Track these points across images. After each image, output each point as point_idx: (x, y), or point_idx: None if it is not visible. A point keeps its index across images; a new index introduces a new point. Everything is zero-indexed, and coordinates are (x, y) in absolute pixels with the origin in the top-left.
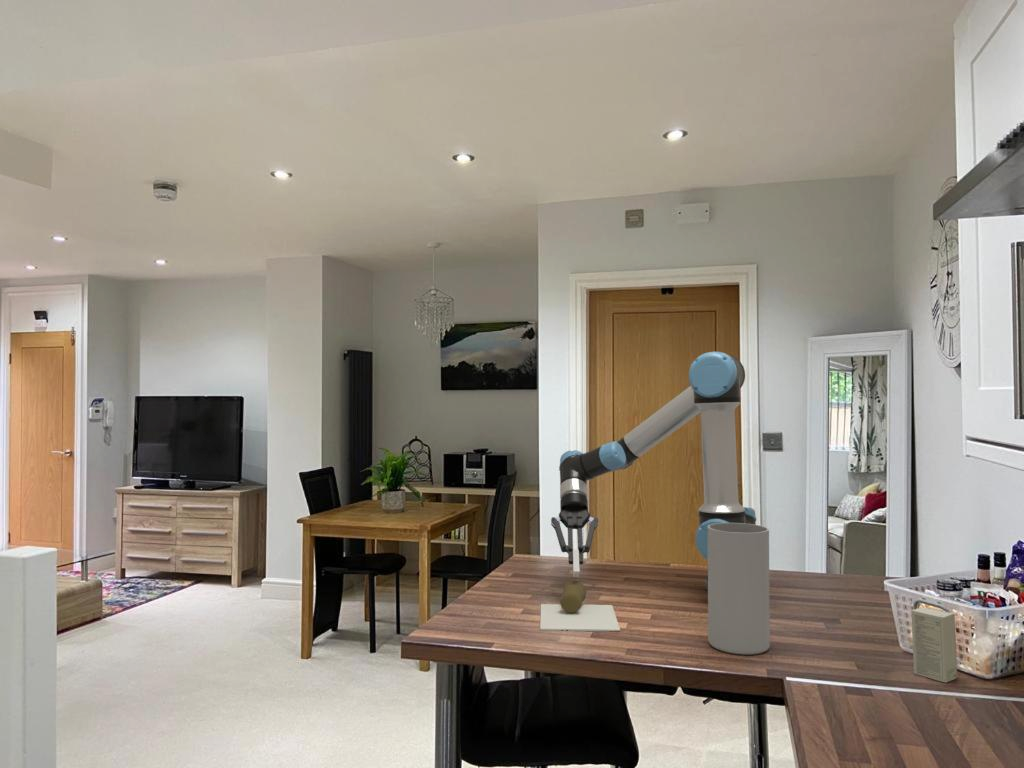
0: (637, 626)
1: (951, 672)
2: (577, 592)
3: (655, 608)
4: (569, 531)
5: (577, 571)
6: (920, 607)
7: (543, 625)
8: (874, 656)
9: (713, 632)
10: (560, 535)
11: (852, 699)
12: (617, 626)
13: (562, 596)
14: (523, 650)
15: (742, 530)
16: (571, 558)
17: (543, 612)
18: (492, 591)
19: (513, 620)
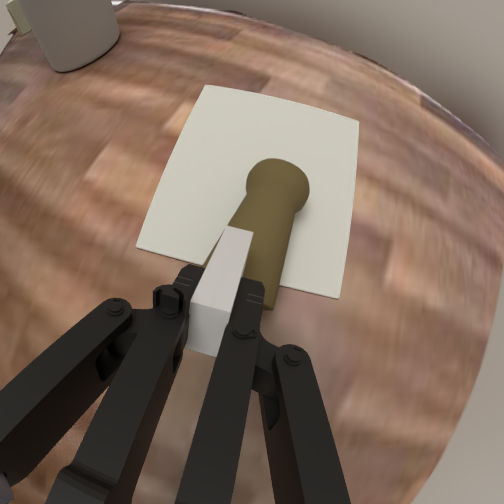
0: (157, 107)
1: None
2: (251, 200)
3: (54, 215)
4: (219, 473)
5: (235, 228)
6: (8, 3)
7: (352, 134)
8: (18, 50)
9: (115, 22)
10: (317, 441)
11: None
12: (201, 99)
13: (307, 180)
14: (379, 70)
15: None
16: (247, 290)
17: (344, 218)
18: (418, 445)
19: (406, 193)
